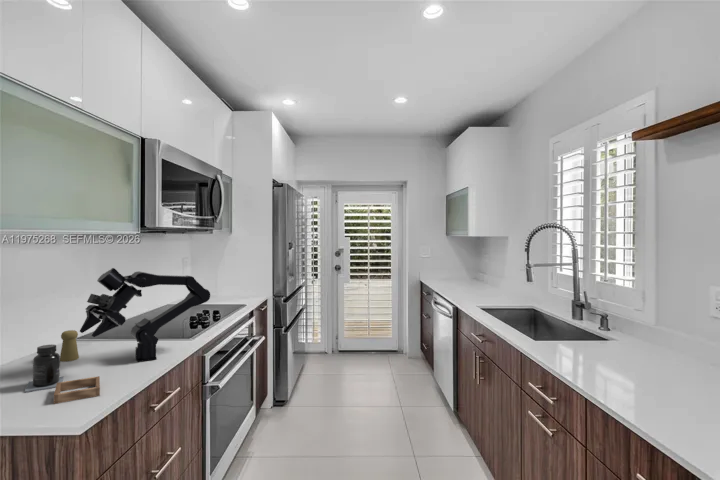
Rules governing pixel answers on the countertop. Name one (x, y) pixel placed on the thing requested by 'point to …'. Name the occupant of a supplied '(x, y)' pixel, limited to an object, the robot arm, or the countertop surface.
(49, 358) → the supplement bottle
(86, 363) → the countertop surface
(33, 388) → the slate mat
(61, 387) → the walnut holder
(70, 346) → the cork
